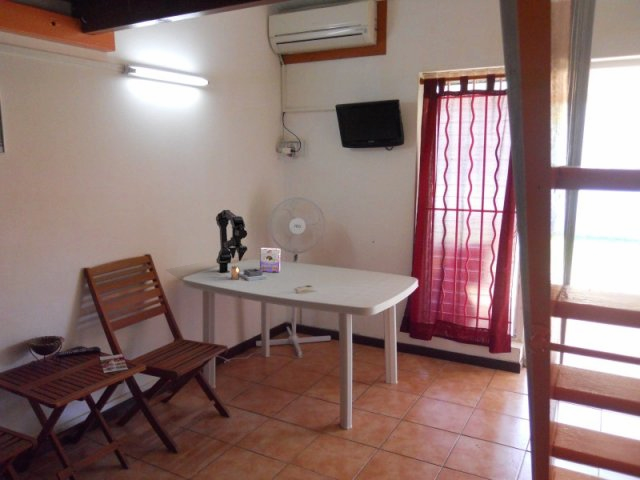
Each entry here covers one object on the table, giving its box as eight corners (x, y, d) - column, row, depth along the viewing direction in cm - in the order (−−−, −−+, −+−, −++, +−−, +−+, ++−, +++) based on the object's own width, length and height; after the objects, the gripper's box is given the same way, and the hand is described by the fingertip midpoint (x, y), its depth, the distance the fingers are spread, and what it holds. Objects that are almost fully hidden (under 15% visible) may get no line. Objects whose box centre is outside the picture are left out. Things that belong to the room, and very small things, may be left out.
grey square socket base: (237, 275, 336) (237, 268, 335) (254, 273, 344) (254, 266, 343) (248, 280, 323) (248, 273, 322) (266, 278, 330) (266, 271, 329)
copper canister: (229, 278, 327) (230, 266, 326) (236, 277, 330) (237, 265, 328) (233, 280, 323) (233, 268, 322) (240, 279, 326) (240, 267, 324)
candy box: (280, 271, 354) (281, 248, 352) (278, 272, 349) (279, 249, 346) (261, 269, 356) (261, 247, 353) (259, 271, 350) (260, 248, 347)
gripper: (218, 234, 324) (218, 258, 327) (232, 238, 310) (231, 263, 312) (234, 233, 331) (233, 256, 333) (248, 237, 316) (247, 261, 319)
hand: (236, 259), depth 324 cm, fingers open, 9 cm apart
